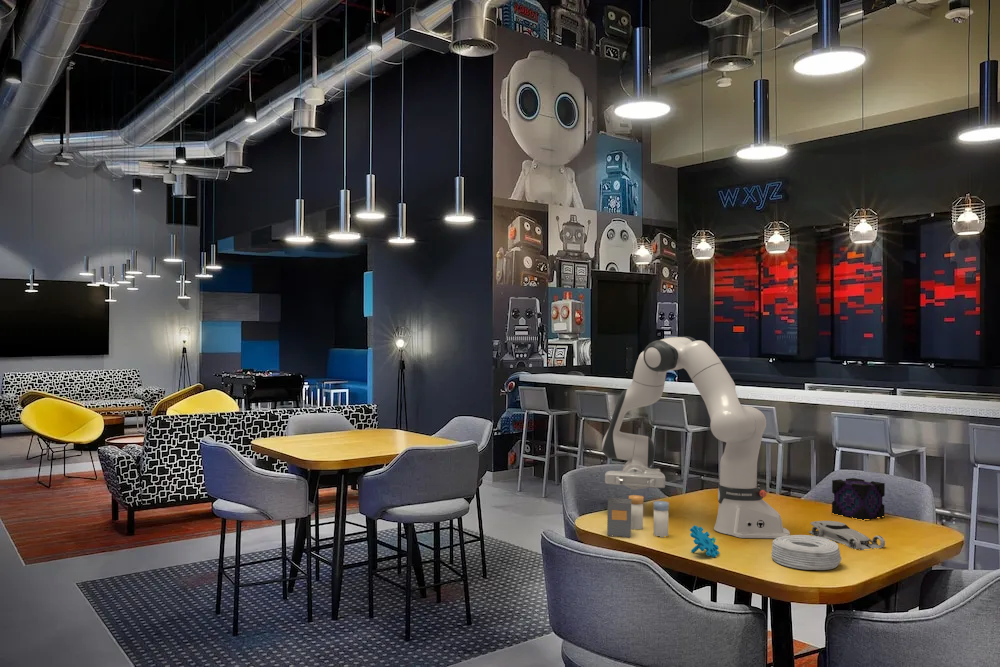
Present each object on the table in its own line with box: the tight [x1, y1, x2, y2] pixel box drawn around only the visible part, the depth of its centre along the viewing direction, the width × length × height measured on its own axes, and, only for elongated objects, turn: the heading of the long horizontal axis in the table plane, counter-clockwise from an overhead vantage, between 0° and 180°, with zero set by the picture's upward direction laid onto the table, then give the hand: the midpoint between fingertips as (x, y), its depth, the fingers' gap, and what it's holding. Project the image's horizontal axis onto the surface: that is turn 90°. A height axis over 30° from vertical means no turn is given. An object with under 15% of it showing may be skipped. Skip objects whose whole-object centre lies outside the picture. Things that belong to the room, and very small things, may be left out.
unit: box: [606, 497, 632, 538], centre depth 237 cm, size 7×9×10 cm
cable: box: [770, 534, 842, 571], centre depth 208 cm, size 18×18×6 cm
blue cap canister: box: [652, 500, 670, 538], centre depth 236 cm, size 5×5×10 cm
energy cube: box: [831, 477, 886, 520], centre depth 271 cm, size 12×12×12 cm
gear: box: [689, 525, 720, 558], centre depth 215 cm, size 11×6×10 cm
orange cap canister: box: [628, 494, 645, 530], centre depth 245 cm, size 5×5×10 cm
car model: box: [808, 520, 886, 551], centre depth 235 cm, size 11×24×5 cm, turn 18°
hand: (635, 483), depth 257 cm, fingers open, 8 cm apart
